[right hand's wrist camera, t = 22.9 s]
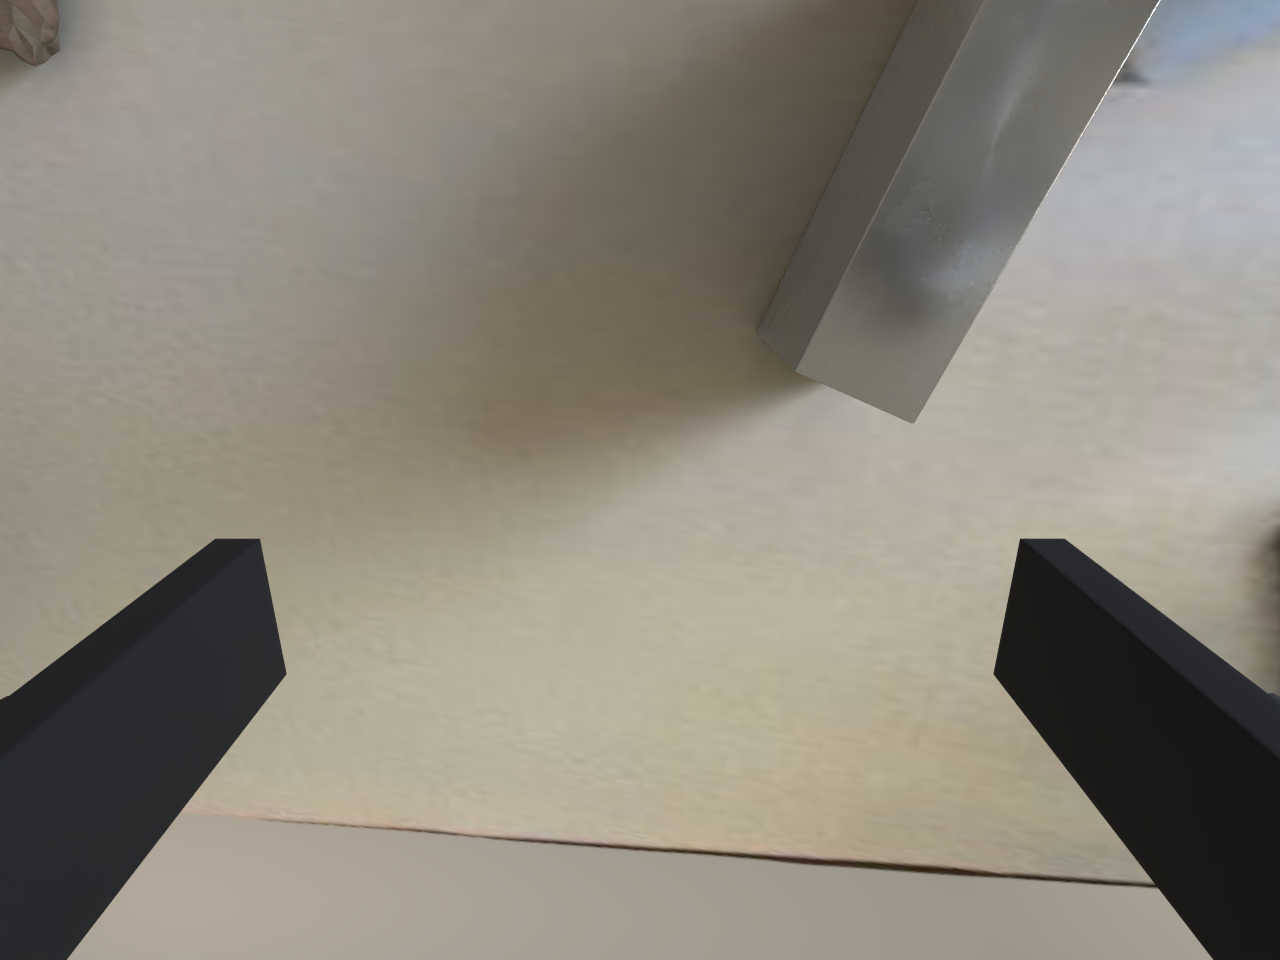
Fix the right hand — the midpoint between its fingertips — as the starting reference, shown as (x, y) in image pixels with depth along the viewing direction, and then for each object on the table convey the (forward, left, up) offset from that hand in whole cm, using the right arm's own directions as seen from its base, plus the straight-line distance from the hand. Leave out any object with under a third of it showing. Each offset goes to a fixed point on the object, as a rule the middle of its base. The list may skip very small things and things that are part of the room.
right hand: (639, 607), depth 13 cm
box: (+11, +12, -31) cm, 35 cm away
